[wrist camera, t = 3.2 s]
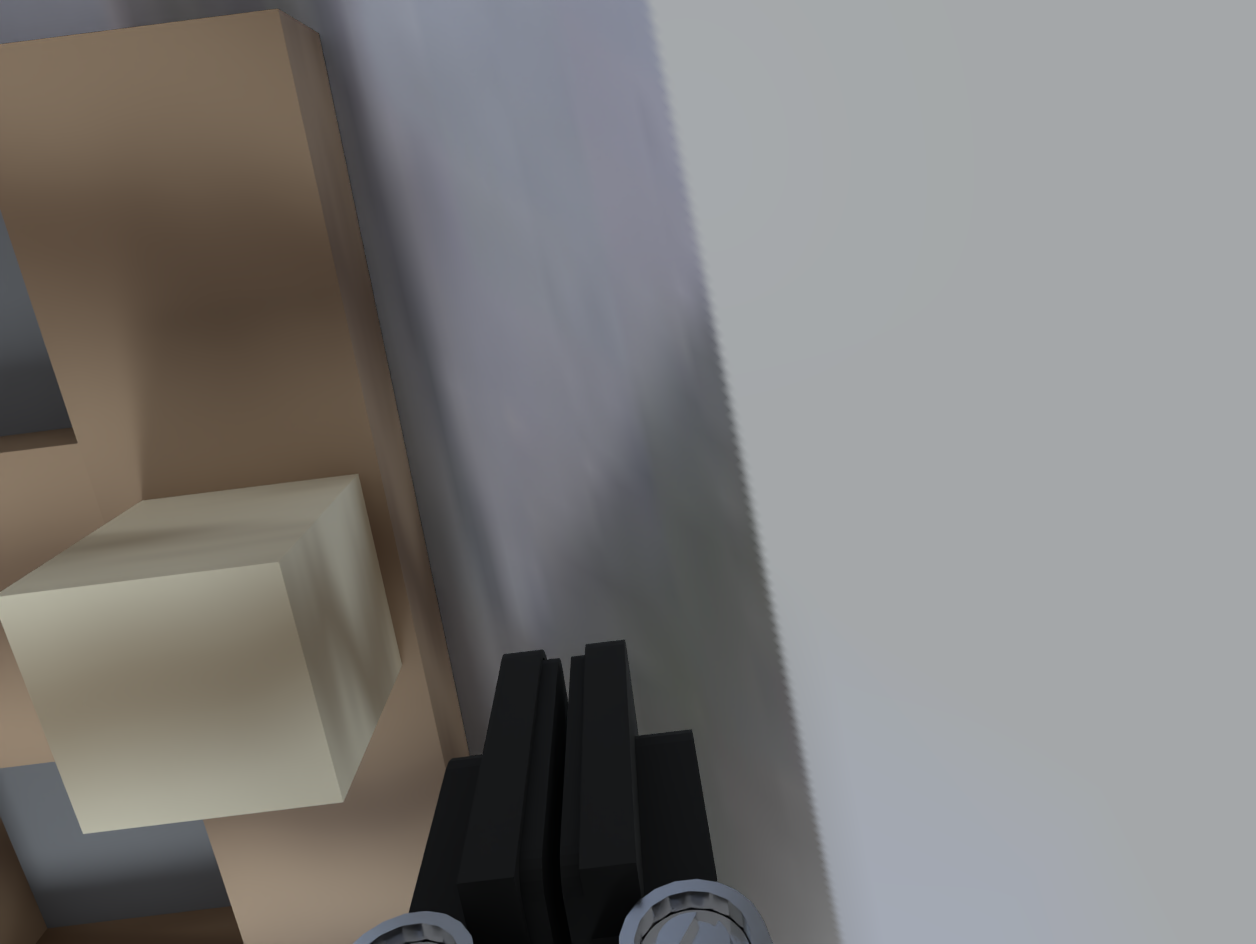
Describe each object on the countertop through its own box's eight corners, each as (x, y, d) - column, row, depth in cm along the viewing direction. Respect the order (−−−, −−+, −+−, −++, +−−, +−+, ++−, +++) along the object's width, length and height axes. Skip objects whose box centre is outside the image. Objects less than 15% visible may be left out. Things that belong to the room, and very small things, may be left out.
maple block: (402, 665, 21) (343, 802, 16) (201, 689, 21) (83, 834, 16) (358, 473, 19) (278, 562, 15) (141, 500, 19) (-9, 597, 15)
